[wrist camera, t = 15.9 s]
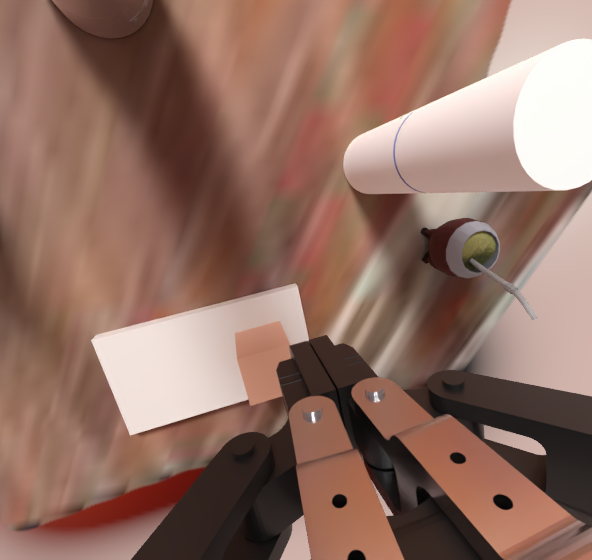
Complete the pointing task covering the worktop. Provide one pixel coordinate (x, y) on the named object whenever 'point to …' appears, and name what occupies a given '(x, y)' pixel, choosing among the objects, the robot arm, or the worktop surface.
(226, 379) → the white board
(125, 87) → the worktop surface
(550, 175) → the cylindrical container
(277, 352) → the salmon pink cube
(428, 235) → the mate gourd
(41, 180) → the worktop surface
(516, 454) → the robot arm
